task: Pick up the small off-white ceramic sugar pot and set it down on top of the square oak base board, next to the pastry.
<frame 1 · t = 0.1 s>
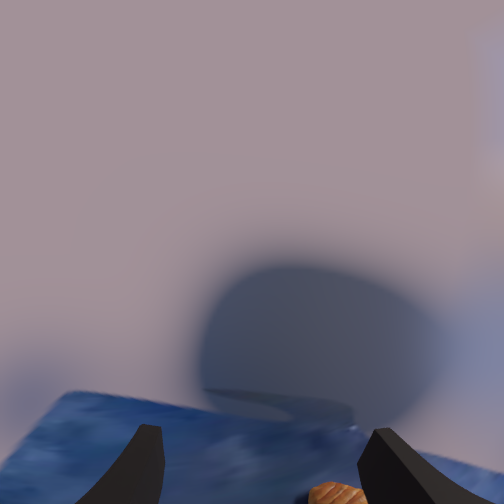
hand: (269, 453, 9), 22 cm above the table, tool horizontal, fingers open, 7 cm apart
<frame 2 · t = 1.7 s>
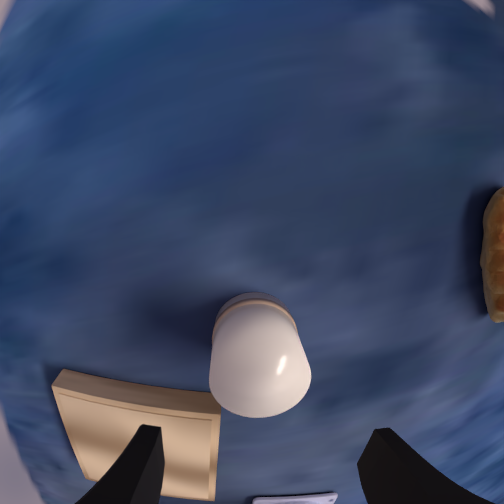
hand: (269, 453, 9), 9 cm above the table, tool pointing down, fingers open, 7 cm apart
sugar pot: (253, 327, 18), on the table
pastry: (501, 257, 18), on the table
base board: (143, 437, 20), on the table
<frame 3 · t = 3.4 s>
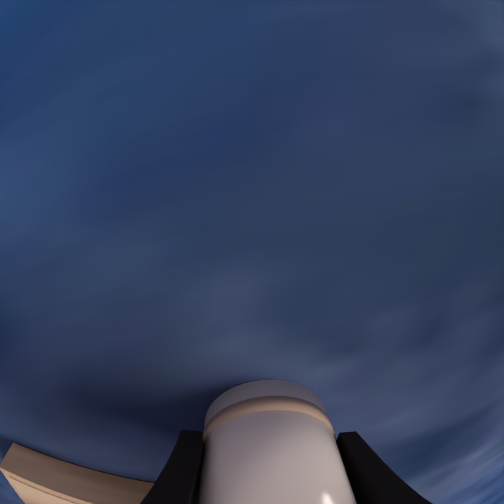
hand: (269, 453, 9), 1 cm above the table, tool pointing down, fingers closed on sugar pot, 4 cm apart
sugar pot: (265, 424, 11), on the table, touching gripper
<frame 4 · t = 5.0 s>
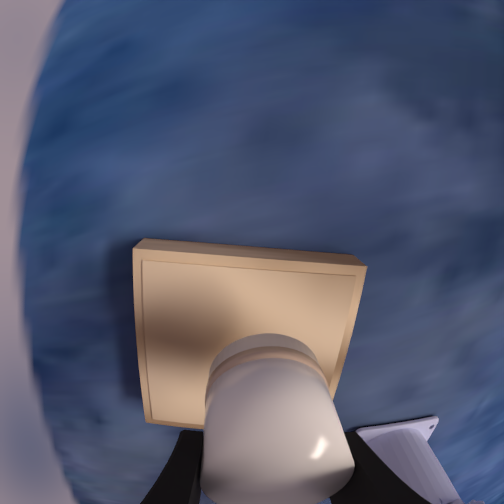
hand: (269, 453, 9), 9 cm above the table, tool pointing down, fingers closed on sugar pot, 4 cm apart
sugar pot: (264, 379, 12), point 6 cm above the table, touching gripper
base board: (241, 340, 18), on the table
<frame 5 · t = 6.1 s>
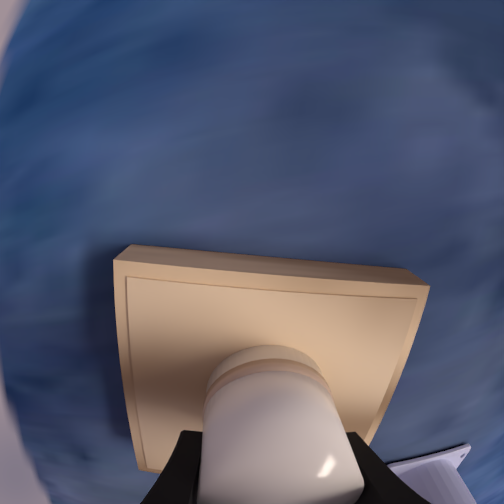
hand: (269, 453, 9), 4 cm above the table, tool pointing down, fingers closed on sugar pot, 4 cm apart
sugar pot: (266, 393, 11), point 2 cm above the table, touching base board, gripper
base board: (260, 377, 13), on the table
when the fingers open (4 cm above the table, at t = 6.8 s): sugar pot stays where it is, resting on base board.
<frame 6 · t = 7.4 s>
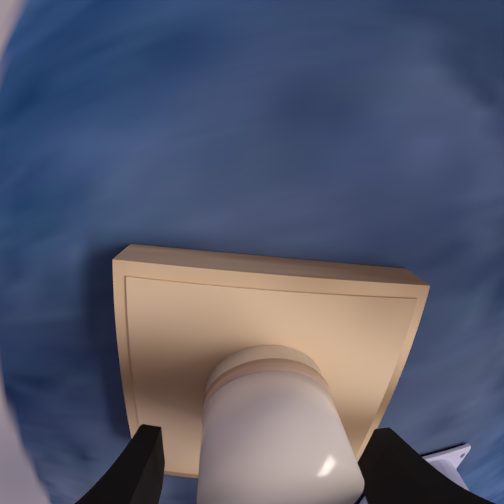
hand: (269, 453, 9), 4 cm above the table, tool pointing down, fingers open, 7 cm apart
sugar pot: (265, 393, 11), point 2 cm above the table, touching base board
base board: (259, 377, 13), on the table
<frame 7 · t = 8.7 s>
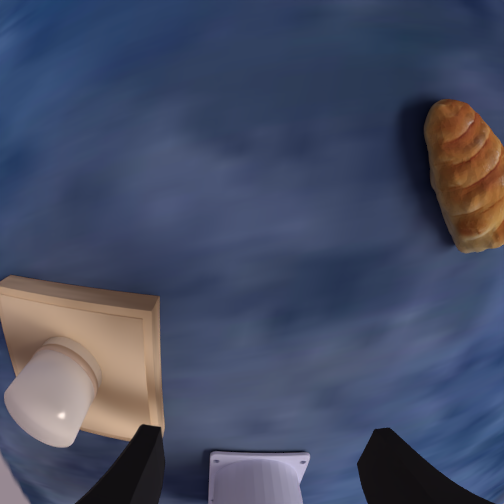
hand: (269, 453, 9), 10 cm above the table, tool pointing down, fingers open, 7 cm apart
sugar pot: (70, 366, 17), point 2 cm above the table, touching base board
pastry: (460, 180, 17), on the table
base board: (85, 359, 19), on the table
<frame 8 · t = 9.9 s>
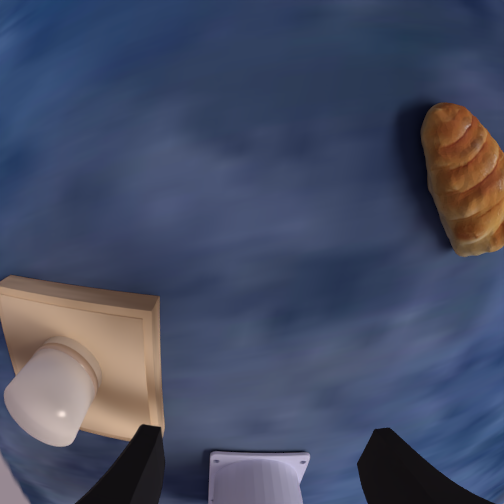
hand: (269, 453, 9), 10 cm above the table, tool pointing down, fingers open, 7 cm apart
sugar pot: (70, 366, 17), point 2 cm above the table, touching base board
pastry: (458, 183, 18), on the table
base board: (85, 359, 19), on the table
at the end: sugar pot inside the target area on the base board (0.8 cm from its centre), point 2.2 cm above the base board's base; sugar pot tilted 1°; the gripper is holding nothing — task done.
